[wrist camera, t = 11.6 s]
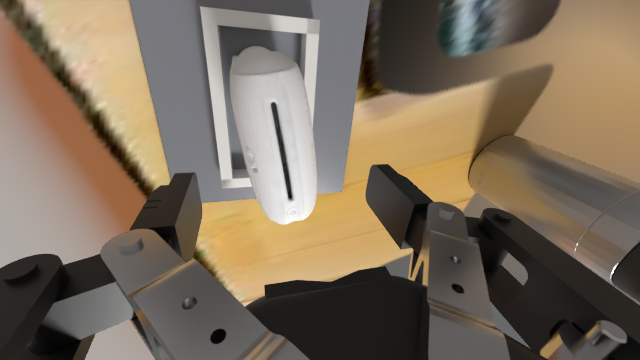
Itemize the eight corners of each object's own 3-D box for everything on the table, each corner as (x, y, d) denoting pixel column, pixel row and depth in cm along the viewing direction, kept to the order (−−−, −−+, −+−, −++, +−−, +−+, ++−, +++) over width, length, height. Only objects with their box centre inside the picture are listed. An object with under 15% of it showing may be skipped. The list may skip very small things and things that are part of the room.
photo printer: (295, 153, 27) (330, 229, 16) (254, 161, 26) (264, 246, 16) (279, 42, 21) (315, 53, 11) (226, 48, 21) (213, 65, 10)
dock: (366, -11, 22) (382, -16, 20) (339, 187, 32) (347, 201, 29) (123, -48, 17) (103, -61, 15) (178, 199, 27) (172, 216, 24)
